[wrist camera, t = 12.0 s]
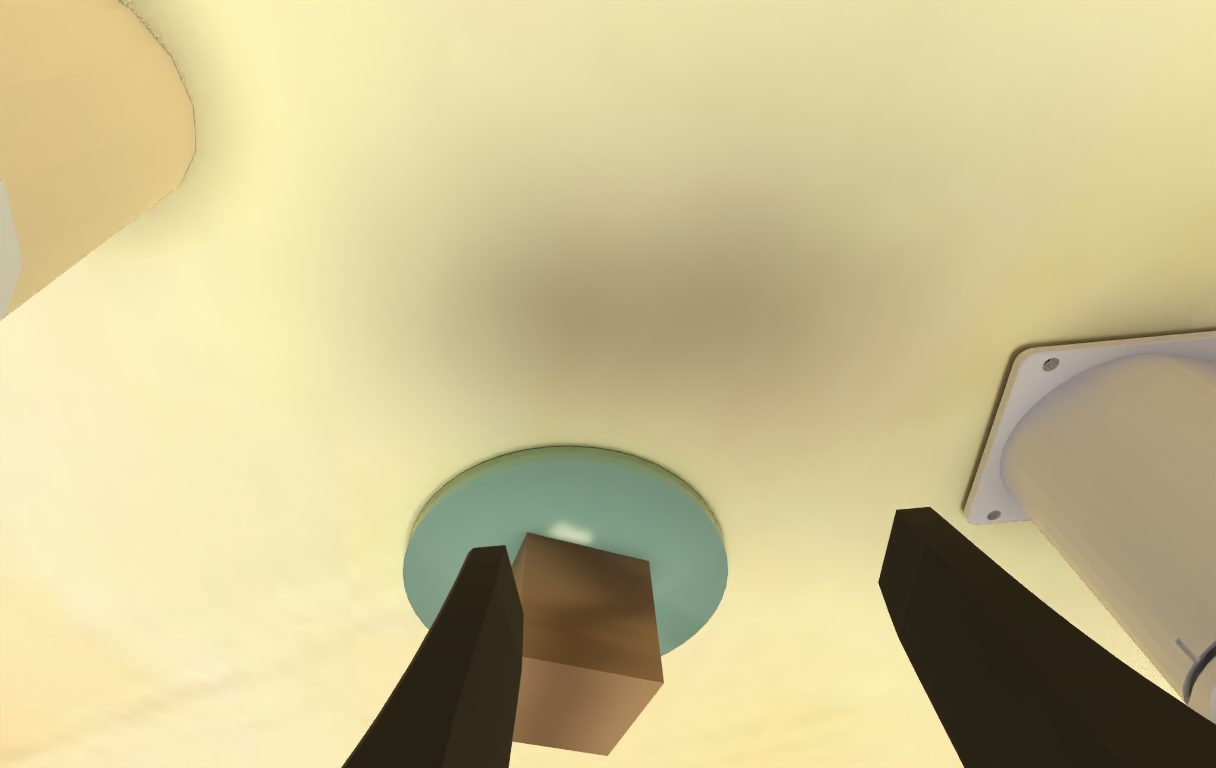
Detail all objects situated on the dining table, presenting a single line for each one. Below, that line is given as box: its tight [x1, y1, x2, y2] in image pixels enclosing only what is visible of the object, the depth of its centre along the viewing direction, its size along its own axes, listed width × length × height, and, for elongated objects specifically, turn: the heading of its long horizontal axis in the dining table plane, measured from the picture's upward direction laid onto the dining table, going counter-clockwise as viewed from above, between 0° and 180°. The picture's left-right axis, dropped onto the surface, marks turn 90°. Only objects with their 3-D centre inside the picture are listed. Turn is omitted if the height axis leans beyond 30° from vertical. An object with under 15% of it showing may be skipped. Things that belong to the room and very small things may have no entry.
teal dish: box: [403, 446, 728, 656], centre depth 25 cm, size 13×13×1 cm
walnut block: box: [512, 532, 664, 756], centre depth 22 cm, size 5×5×5 cm
